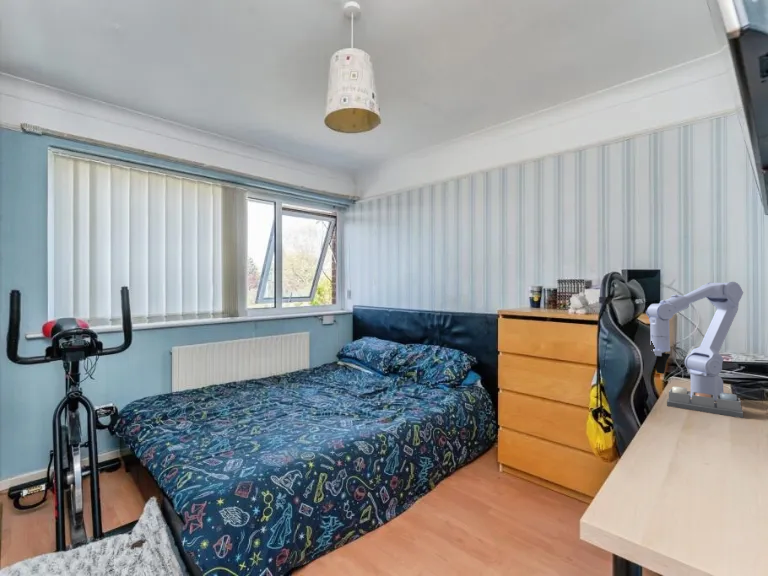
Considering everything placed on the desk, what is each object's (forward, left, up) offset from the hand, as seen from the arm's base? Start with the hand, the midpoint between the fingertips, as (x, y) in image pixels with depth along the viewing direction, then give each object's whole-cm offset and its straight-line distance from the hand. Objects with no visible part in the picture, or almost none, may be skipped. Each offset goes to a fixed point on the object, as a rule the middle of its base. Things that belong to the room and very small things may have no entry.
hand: (660, 373), depth 136 cm
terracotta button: (-3, +12, -8) cm, 15 cm away
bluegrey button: (-7, +18, -7) cm, 20 cm away
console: (-3, +13, -9) cm, 16 cm away
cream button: (+1, +7, -7) cm, 10 cm away
